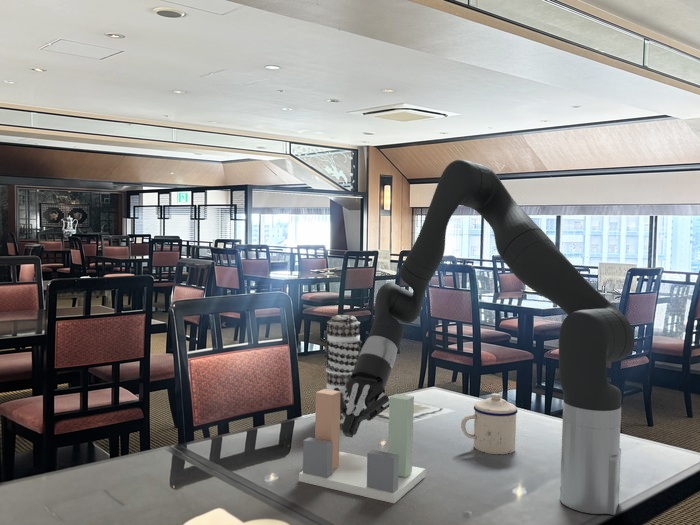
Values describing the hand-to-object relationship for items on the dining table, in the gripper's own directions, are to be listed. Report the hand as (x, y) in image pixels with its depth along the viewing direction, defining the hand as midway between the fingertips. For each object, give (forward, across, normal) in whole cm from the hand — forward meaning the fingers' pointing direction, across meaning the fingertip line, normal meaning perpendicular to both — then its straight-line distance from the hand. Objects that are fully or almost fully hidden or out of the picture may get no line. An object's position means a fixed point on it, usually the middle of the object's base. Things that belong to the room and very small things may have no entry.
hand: (347, 435), depth 129 cm
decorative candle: (-14, -15, +23) cm, 31 cm away
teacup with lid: (-12, +22, +20) cm, 32 cm away
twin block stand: (+8, +7, 0) cm, 10 cm away
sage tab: (+6, +13, 0) cm, 14 cm away
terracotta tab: (+8, 0, -3) cm, 9 cm away
